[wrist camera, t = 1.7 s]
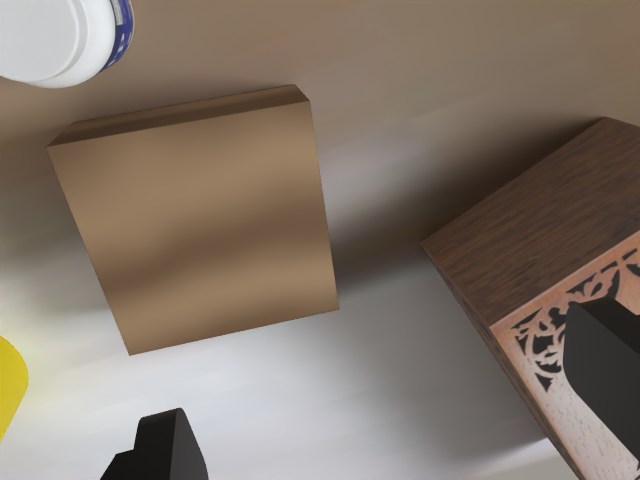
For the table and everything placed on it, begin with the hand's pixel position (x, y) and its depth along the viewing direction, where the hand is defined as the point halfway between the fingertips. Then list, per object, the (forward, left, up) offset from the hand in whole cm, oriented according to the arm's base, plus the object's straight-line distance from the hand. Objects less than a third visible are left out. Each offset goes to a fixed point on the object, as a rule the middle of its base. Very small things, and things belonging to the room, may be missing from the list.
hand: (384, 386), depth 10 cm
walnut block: (+3, -5, -21) cm, 22 cm away
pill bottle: (-8, -9, -21) cm, 24 cm away
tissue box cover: (+17, +20, -21) cm, 34 cm away
